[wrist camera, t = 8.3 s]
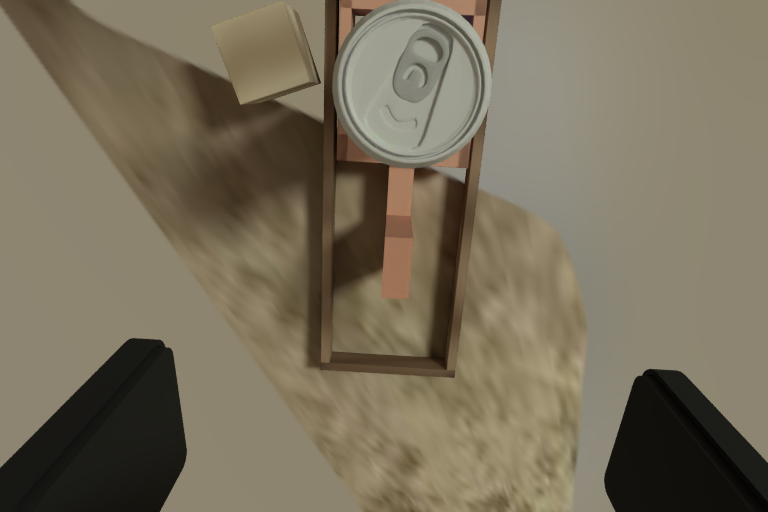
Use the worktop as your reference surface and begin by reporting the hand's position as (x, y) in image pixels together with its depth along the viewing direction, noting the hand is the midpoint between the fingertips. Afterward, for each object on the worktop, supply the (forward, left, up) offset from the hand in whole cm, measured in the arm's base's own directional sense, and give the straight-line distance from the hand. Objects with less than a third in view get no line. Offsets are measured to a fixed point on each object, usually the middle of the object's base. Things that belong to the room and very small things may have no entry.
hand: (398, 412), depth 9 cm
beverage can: (-6, 0, -22) cm, 23 cm away
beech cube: (-8, -8, -22) cm, 25 cm away
